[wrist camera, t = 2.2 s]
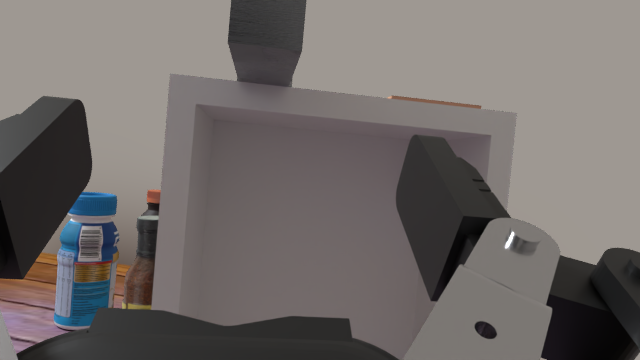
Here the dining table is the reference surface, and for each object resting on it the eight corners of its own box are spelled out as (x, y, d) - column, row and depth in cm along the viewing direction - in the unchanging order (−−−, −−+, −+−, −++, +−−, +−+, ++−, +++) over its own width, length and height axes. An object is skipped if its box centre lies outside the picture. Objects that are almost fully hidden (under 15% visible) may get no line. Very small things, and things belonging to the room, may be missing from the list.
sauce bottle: (185, 388, 53) (199, 220, 52) (134, 408, 48) (149, 222, 47) (154, 369, 57) (167, 212, 56) (105, 385, 52) (118, 214, 51)
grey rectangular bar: (313, 52, 19) (322, -46, 18) (215, 40, 18) (223, -61, 18) (286, 108, 38) (290, 61, 38) (239, 103, 38) (243, 56, 38)
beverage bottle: (38, 326, 67) (48, 192, 66) (79, 309, 75) (88, 190, 74) (88, 335, 65) (98, 198, 64) (125, 317, 73) (134, 195, 73)
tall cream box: (468, 586, 30) (517, 110, 29) (127, 599, 27) (170, 70, 26) (409, 466, 42) (443, 124, 41) (168, 466, 39) (198, 98, 38)
